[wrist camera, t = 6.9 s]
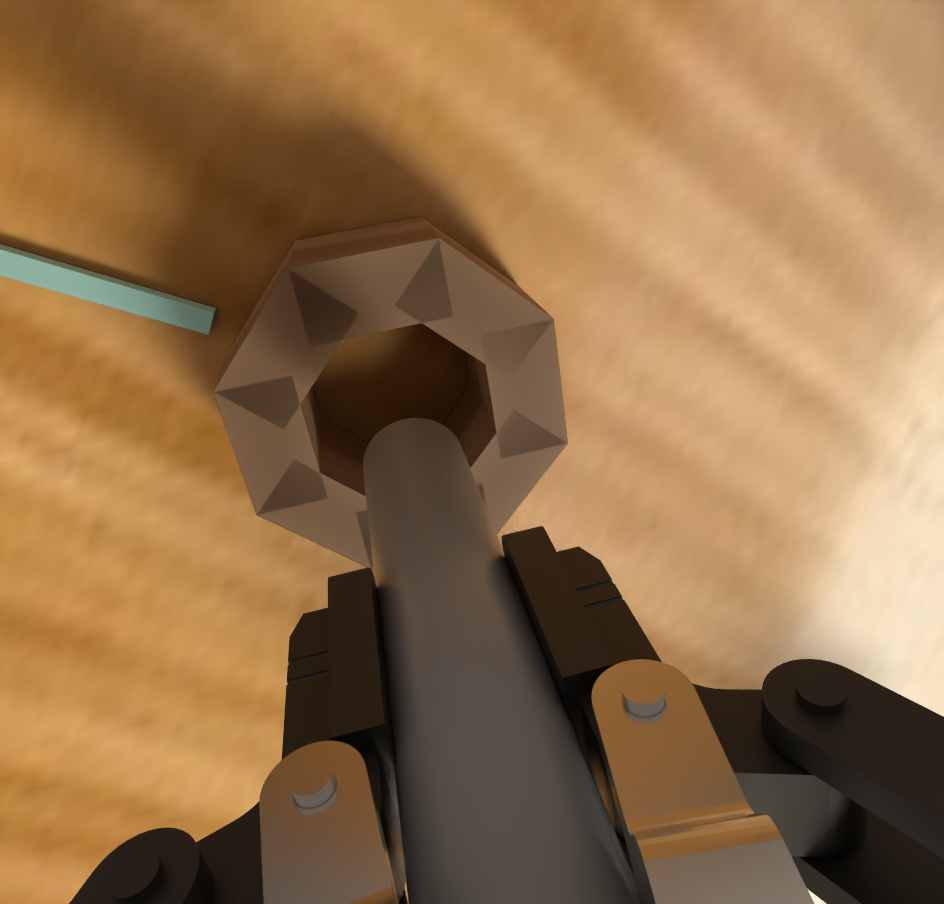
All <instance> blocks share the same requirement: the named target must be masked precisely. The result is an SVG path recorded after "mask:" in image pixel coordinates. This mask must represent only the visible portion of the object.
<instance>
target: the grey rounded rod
mask: <svg viewBox="0 0 944 904" xmlns="http://www.w3.org/2000/svg"><path fill="white" fill-rule="evenodd" d="M363 475H364V485H365V494H366V504H367V513H368V523H369V532H370V542H371V551H372V561H373V570H374V579H375V583H376V586H377V592H378V601H379V611H380V620H381V629H382V638H383V647H384V656H385V665H386V675H387V684H388V693H389V702H390V711H391V720H392V729H393V738H394V748H395V757H396V765H395V779H396V789H397V798H398V808H399V817H400V827H401V836H402V846H403V855H404V865H405V875H406V884H407V894H408V903H409V904H640V902H639V898H638V894H637V888H636V882H635V879H634V876H633V874H632V871H631V869H630V866H629V864H628V861H627V859H626V856H625V854H624V851H623V849H622V846H621V844H620V841H619V839H618V836H617V834H616V831H615V829H614V826H613V824H612V821H611V819H610V816H609V814H608V811H607V809H606V806H605V804H604V801H603V799H602V796H601V794H600V791H599V789H598V786H597V784H596V781H595V779H594V776H593V774H592V771H591V769H590V767H589V764H588V762H587V759H586V757H585V754H584V752H583V749H582V747H581V744H580V742H579V739H578V737H577V734H576V732H575V729H574V727H573V724H572V722H571V720H570V719H569V717H568V716H567V713H566V711H565V708H564V705H563V703H562V700H561V698H560V695H559V693H558V690H557V688H556V685H555V683H554V680H553V678H552V675H551V673H550V670H549V668H548V665H547V663H546V660H545V658H544V655H543V653H542V650H541V648H540V645H539V643H538V640H537V638H536V635H535V633H534V630H533V628H532V625H531V622H530V620H529V617H528V615H527V612H526V610H525V607H524V605H523V602H522V600H521V597H520V595H519V592H518V590H517V587H516V585H515V582H514V580H513V577H512V575H511V572H510V570H509V567H508V565H507V562H506V560H505V557H504V552H503V549H502V547H501V544H500V542H499V539H498V537H497V534H496V532H495V529H494V527H493V524H492V522H491V519H490V517H489V514H488V512H487V509H486V507H485V504H484V502H483V499H482V497H481V494H480V492H479V489H478V487H477V484H476V482H475V479H474V477H473V474H472V472H471V469H470V467H469V464H468V462H467V459H466V457H465V454H464V452H463V449H462V447H461V444H460V442H459V440H458V439H457V437H456V436H455V435H454V434H453V432H451V431H450V430H449V429H448V428H447V427H445V426H444V425H442V424H440V423H438V422H436V421H433V420H430V419H425V418H408V419H403V420H399V421H396V422H394V423H391V424H390V425H388V426H386V427H384V428H383V429H382V430H380V431H379V432H378V433H377V434H376V435H375V436H374V437H373V439H372V440H371V441H370V443H369V445H368V446H367V449H366V451H365V454H364V458H363Z"/></svg>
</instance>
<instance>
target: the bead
mask: <svg viewBox="0 0 944 904" xmlns="http://www.w3.org/2000/svg"><path fill="white" fill-rule="evenodd" d="M420 323H422V324H424V325H425V326H427V327H428V328H430V329H432V330H433V331H435V332H436V333H438V334H439V335H441V336H442V337H444V338H446V339H447V340H449V341H450V342H452V343H453V344H455V345H456V346H458V347H460V348H461V349H463V350H464V351H465V352H466V357H467V363H468V369H469V375H470V380H471V385H470V387H469V388H468V389H467V391H466V392H465V393H464V395H463V396H462V398H461V399H460V400H459V402H458V403H457V405H456V406H455V407H454V409H453V410H452V412H451V413H450V414H449V416H448V417H447V419H446V420H445V421H444V423H443V424H442V425H444V426H445V427H447V428H448V429H449V430H450V431H451V432H453V434H454V435H455V436H456V437H457V439H458V440H459V442H460V444H461V447H462V449H463V452H464V454H465V457H466V459H467V462H468V464H469V467H470V469H471V472H472V474H473V477H474V479H475V482H476V484H477V487H478V489H479V492H480V494H481V497H482V499H483V502H484V504H485V507H486V509H487V512H488V514H489V517H490V519H491V522H492V524H493V527H494V529H495V532H496V534H498V532H499V531H500V530H501V528H502V527H503V526H504V525H505V523H506V522H507V521H508V520H509V518H510V517H511V516H512V514H513V513H514V512H515V511H516V509H517V508H518V507H519V505H520V504H521V503H522V502H523V500H524V499H525V498H526V496H527V495H528V494H529V493H530V491H531V490H532V489H533V487H534V486H535V485H536V484H537V482H538V481H539V480H540V478H541V477H542V476H543V475H544V473H545V472H546V471H547V469H548V468H549V467H550V466H551V464H552V463H553V462H554V460H555V459H556V458H557V457H558V455H559V454H560V453H561V451H562V450H563V449H564V448H565V446H566V445H567V444H568V440H567V431H566V422H565V413H564V404H563V396H562V387H561V378H560V369H559V360H558V351H557V342H556V333H555V324H554V319H553V318H552V317H551V316H550V315H549V314H548V313H547V312H546V311H545V310H544V309H543V308H542V307H540V306H539V305H538V304H537V303H536V302H535V301H534V300H533V299H532V298H531V297H530V296H529V295H528V294H527V293H526V292H524V291H523V290H522V289H521V288H520V287H519V286H518V285H517V284H515V283H514V282H512V281H511V280H510V279H508V278H507V277H505V276H504V275H503V274H501V273H500V272H498V271H497V270H496V269H494V268H493V267H491V266H490V265H489V264H487V263H486V262H484V261H483V260H482V259H480V258H479V257H477V256H476V255H475V254H473V253H472V252H470V251H469V250H467V249H466V248H465V247H463V246H462V245H460V244H459V243H458V242H456V241H455V240H453V239H452V238H451V237H449V236H448V235H446V234H445V233H444V232H442V231H441V230H439V229H438V228H437V227H435V226H434V225H432V224H431V223H430V222H428V221H427V220H425V219H424V218H423V217H421V216H417V217H412V218H407V219H401V220H396V221H391V222H386V223H381V224H376V225H371V226H366V227H361V228H356V229H351V230H346V231H341V232H336V233H331V234H326V235H321V236H315V237H310V238H305V239H300V240H295V241H294V242H293V244H292V245H291V247H290V249H289V250H288V252H287V254H286V255H285V257H284V259H283V260H282V262H281V264H280V265H279V267H278V269H277V270H276V272H275V274H274V275H273V277H272V279H271V280H270V282H269V284H268V285H267V287H266V289H265V290H264V292H263V294H262V295H261V297H260V299H259V300H258V302H257V304H256V305H255V307H254V309H253V310H252V312H251V314H250V315H249V317H248V319H247V320H246V322H245V324H244V325H243V327H242V329H241V331H240V332H239V334H238V336H237V337H236V339H235V341H234V342H233V344H232V346H231V348H230V351H229V353H228V356H227V358H226V361H225V364H224V366H223V369H222V371H221V374H220V376H219V379H218V382H217V384H216V387H215V389H214V392H213V393H214V395H215V398H216V401H217V404H218V407H219V410H220V412H221V415H222V418H223V421H224V424H225V427H226V430H227V432H228V435H229V438H230V441H231V444H232V447H233V450H234V452H235V455H236V458H237V461H238V464H239V467H240V470H241V472H242V475H243V478H244V481H245V484H246V487H247V489H248V492H249V495H250V498H251V501H252V504H253V507H254V509H255V512H256V515H257V516H259V517H261V518H264V519H266V520H268V521H270V522H272V523H274V524H276V525H278V526H281V527H283V528H285V529H287V530H289V531H291V532H293V533H295V534H298V535H300V536H302V537H304V538H306V539H308V540H310V541H312V542H315V543H317V544H319V545H321V546H323V547H325V548H327V549H330V550H332V551H334V552H336V553H338V554H340V555H342V556H344V557H347V558H349V559H351V560H353V561H355V562H357V563H359V564H361V565H364V566H366V567H368V568H369V567H370V568H371V569H373V561H372V551H371V542H370V532H369V523H368V513H367V504H366V494H365V485H364V475H363V458H364V454H365V451H366V449H367V446H368V445H369V443H367V442H365V441H363V440H362V439H360V438H358V437H356V436H354V435H352V434H351V433H349V432H347V431H345V430H343V429H342V428H340V427H338V426H336V425H334V424H332V423H331V422H329V421H327V420H325V419H323V418H321V415H320V412H319V408H318V405H317V401H316V398H315V394H314V390H313V387H312V386H313V384H314V383H315V381H316V379H317V378H318V376H319V375H320V373H321V372H322V370H323V369H324V367H325V365H326V364H327V362H328V361H329V359H330V358H331V356H332V355H333V353H334V352H335V350H336V348H337V347H338V345H339V344H340V342H341V341H342V340H344V339H349V338H354V337H358V336H363V335H368V334H372V333H377V332H382V331H387V330H391V329H396V328H401V327H406V326H410V325H415V324H420Z"/></svg>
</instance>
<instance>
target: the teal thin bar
mask: <svg viewBox="0 0 944 904" xmlns="http://www.w3.org/2000/svg"><path fill="white" fill-rule="evenodd" d="M0 276H4V277H7V278H11V279H14V280H18V281H21V282H25V283H28V284H32V285H35V286H39V287H42V288H46V289H49V290H53V291H56V292H60V293H63V294H67V295H70V296H74V297H77V298H81V299H84V300H88V301H91V302H95V303H98V304H102V305H105V306H109V307H112V308H116V309H119V310H123V311H126V312H130V313H133V314H137V315H140V316H144V317H147V318H151V319H154V320H158V321H161V322H165V323H168V324H172V325H175V326H179V327H182V328H186V329H189V330H193V331H196V332H200V333H203V334H207V335H209V333H210V331H211V327H212V323H213V319H214V314H215V310H216V308H213V307H210V306H207V305H203V304H200V303H197V302H193V301H190V300H187V299H183V298H180V297H177V296H173V295H170V294H166V293H163V292H160V291H156V290H153V289H150V288H146V287H143V286H140V285H136V284H133V283H130V282H126V281H123V280H120V279H116V278H113V277H109V276H106V275H103V274H99V273H96V272H93V271H89V270H86V269H83V268H79V267H76V266H73V265H69V264H66V263H62V262H59V261H56V260H52V259H49V258H46V257H42V256H39V255H36V254H32V253H29V252H26V251H22V250H19V249H15V248H12V247H9V246H5V245H2V244H0Z"/></svg>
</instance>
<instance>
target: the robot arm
mask: <svg viewBox="0 0 944 904" xmlns="http://www.w3.org/2000/svg"><path fill="white" fill-rule="evenodd" d="M502 545H503V551H504V557H505V560H506V562H507V565H508V567H509V570H510V572H511V575H512V577H513V580H514V582H515V585H516V587H517V590H518V592H519V595H520V597H521V600H522V602H523V605H524V607H525V610H526V612H527V615H528V617H529V620H530V622H531V625H532V628H533V630H534V633H535V635H536V638H537V640H538V643H539V645H540V648H541V650H542V653H543V655H544V658H545V660H546V663H547V665H548V668H549V670H550V673H551V675H552V678H553V680H554V683H555V685H556V688H557V690H558V693H559V695H560V698H561V700H562V703H563V705H564V708H565V711H566V713H567V716H568V717H569V719H570V720H571V722H572V724H573V727H574V729H575V732H576V734H577V737H578V739H579V742H580V744H581V747H582V749H583V752H584V754H585V757H586V759H587V762H588V764H589V767H590V769H591V771H592V774H593V776H594V779H595V781H596V784H597V786H598V789H599V791H600V794H601V796H602V799H603V801H604V804H605V806H606V809H607V811H608V814H609V816H610V819H611V821H612V824H613V826H614V829H615V831H616V834H617V836H618V839H619V841H620V844H621V846H622V849H623V851H624V854H625V856H626V859H627V861H628V864H629V866H630V869H631V871H632V874H633V876H634V879H635V882H636V888H637V894H638V898H639V902H640V904H814V902H813V900H812V898H811V896H810V894H809V892H808V890H810V891H811V892H812V893H814V894H815V895H816V896H818V897H819V898H820V899H821V900H823V901H824V902H825V903H827V904H944V717H943V716H941V715H939V714H937V713H935V712H933V711H931V710H929V709H927V708H925V707H923V706H921V705H919V704H917V703H915V702H913V701H911V700H909V699H907V698H905V697H903V696H901V695H899V694H897V693H895V692H893V691H891V690H889V689H888V688H886V687H884V686H882V685H880V684H878V683H876V682H874V681H872V680H870V679H868V678H866V677H864V676H862V675H860V674H858V673H856V672H854V671H852V670H850V669H848V668H845V667H843V666H841V665H838V664H835V663H832V662H828V661H823V660H815V659H800V660H793V661H789V662H786V663H783V664H781V665H779V666H777V667H776V668H774V669H773V670H771V671H770V673H769V674H768V675H767V676H766V678H765V680H764V682H763V686H762V690H731V689H713V688H707V687H702V686H699V685H695V684H693V683H691V681H690V680H689V679H688V678H687V677H686V675H684V674H683V673H682V672H681V671H679V670H678V669H676V668H674V667H673V666H670V665H668V664H665V663H662V661H661V660H660V658H659V657H658V655H657V653H656V652H655V650H654V648H653V647H652V645H651V644H650V642H649V640H648V639H647V637H646V635H645V634H644V632H643V630H642V629H641V627H640V625H639V624H638V622H637V620H636V619H635V617H634V615H633V614H632V612H631V610H630V609H629V607H628V605H627V604H626V602H625V601H624V600H623V599H622V596H621V594H620V592H619V591H618V589H617V587H616V586H615V584H613V582H612V579H611V577H610V576H609V574H608V572H607V571H606V569H605V567H604V566H603V564H602V562H601V561H600V560H599V559H597V558H596V557H594V556H593V555H591V554H589V553H588V552H586V551H585V550H583V549H582V548H580V547H575V548H571V549H567V550H563V551H558V552H556V550H555V548H554V546H553V544H552V542H551V540H550V538H549V536H548V535H547V533H546V531H545V529H544V527H543V526H540V527H536V528H531V529H527V530H523V531H519V532H515V533H511V534H507V535H503V536H502ZM288 662H289V665H288V671H287V682H288V685H287V687H286V702H285V718H284V733H283V749H282V760H281V761H280V762H279V763H278V764H277V765H276V766H275V768H274V769H273V770H272V771H271V772H270V774H269V775H268V777H267V779H266V780H265V782H264V785H263V787H262V790H261V794H260V801H259V802H258V803H257V804H256V805H255V806H254V807H253V808H252V809H250V810H249V811H248V812H247V813H245V814H244V815H243V816H241V817H239V818H238V819H236V820H235V821H233V822H231V823H230V824H228V825H226V826H224V827H223V828H221V829H219V830H217V831H215V832H214V833H212V834H210V835H208V836H207V837H205V838H203V839H201V840H200V841H198V842H195V840H194V839H193V838H192V837H191V836H190V835H189V834H188V833H186V832H185V831H183V830H179V829H176V828H158V829H154V830H149V831H147V832H144V833H141V834H139V835H137V836H135V837H133V838H131V839H129V840H127V841H126V842H124V843H123V844H121V845H120V846H118V847H117V848H116V849H115V850H114V851H112V852H111V853H110V854H109V855H108V856H107V857H106V858H105V859H104V860H103V861H102V862H101V863H100V864H99V865H98V866H97V868H96V869H95V870H94V871H93V873H92V874H91V875H90V877H89V878H88V879H87V881H86V882H85V883H84V885H83V886H82V887H81V889H80V890H79V891H78V893H77V894H76V895H75V897H74V898H73V899H72V901H71V902H70V903H69V904H409V903H408V894H407V889H406V886H405V882H406V875H405V865H404V855H403V846H402V836H401V827H400V817H399V808H398V798H397V789H396V779H395V765H396V757H395V748H394V738H393V729H392V720H391V711H390V702H389V693H388V684H387V675H386V665H385V656H384V647H383V638H382V629H381V620H380V611H379V601H378V592H377V586H376V583H375V579H374V575H373V572H372V570H371V568H370V567H369V568H365V569H361V570H357V571H352V572H348V573H344V574H340V575H336V576H332V577H329V578H328V608H325V609H321V610H317V611H313V612H309V613H305V614H303V615H302V617H301V619H300V620H299V622H298V624H297V626H296V627H295V629H294V631H293V632H292V634H291V636H290V640H289V655H288ZM807 889H808V890H807Z"/></svg>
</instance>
